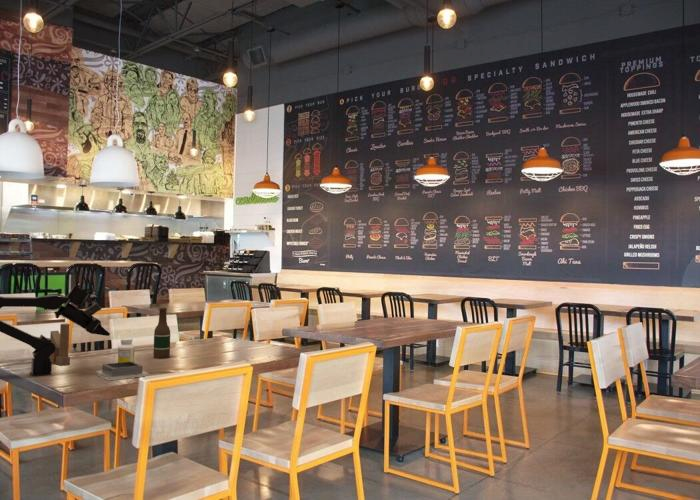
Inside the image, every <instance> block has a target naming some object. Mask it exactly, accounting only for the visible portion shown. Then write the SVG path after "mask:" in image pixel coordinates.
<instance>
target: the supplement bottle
mask: <svg viewBox="0 0 700 500" xmlns="http://www.w3.org/2000/svg"><path fill="white" fill-rule="evenodd" d="M132 343H133V338H129V337H127V338H121V339H120V344H119V346H118V347H117V363H120V362H134V363H135V351H136V350H135V348H136V347H135V345H134V344H132Z"/></svg>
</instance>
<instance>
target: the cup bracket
mask: <svg viewBox="0 0 700 500" xmlns="http://www.w3.org/2000/svg"><path fill="white" fill-rule="evenodd" d="M101 367H102V370H95V375H97V376H98V377H101V378H102V379H105V380H106V381H108V382H109V381H110V380H112V381H118V380H117V379H121V380H127V379H126V378H131V379H136V378H135V377H140V378H142V377H141V376H147V375H149V376H150V373H148V372H147V371H144V370H143V367H144V366H143V365H141V364H139V363H137V362H135V361H134V362H120V363H118V362H112V363H102V365H101ZM110 382H111V381H110Z"/></svg>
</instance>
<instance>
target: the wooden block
mask: <svg viewBox="0 0 700 500" xmlns="http://www.w3.org/2000/svg"><path fill="white" fill-rule="evenodd" d="M59 327H60V328H59V330H60V331H59V330H51V331H50V336H49V338H50V339H51V340H52V342H53V343H54V345H55V347H56V348H55V352H54V353H53V354H52V355H50V357H49V358H50V361H51V362H52V364H53V365H54V364H55V365H56V366H57V365H58V366H69V365H71V356H69V350H70V348H69V347H70V345H69V343H70V323H60V326H59Z"/></svg>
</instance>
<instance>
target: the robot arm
mask: <svg viewBox="0 0 700 500" xmlns="http://www.w3.org/2000/svg"><path fill="white" fill-rule="evenodd" d="M89 295H90V293H89V292H88V291H86V290H85V289H82V288H79V287H78V286H76V285H73V287H72V288H71V290H70V292H69V293H68V294H67V295H62V296H58V295H56V294H48V295H43V296H35V297H34V296H33V297H30V296H29V297H25V296H24V297H23V296H20V297H19V296H0V309H2V308H4V307H5V308H8V307H10V308H12V307H13V308H15V307H18V308H19V307H20V308H21V307H22V308H23V307H25V308H29V307H30V308H35V307H36V308H40V309H45V310H46V309H47V310H52V311H53V310H56V311H54V312H53V313H54V315H55V319H59V318H60V316H62V317H63V318H65V319H67V320H69V321H71V322H72V323H74V324H75V325H77V326H79V327H81V328H82V329H84V330H85V331H86V332H87V333H89V334H91V335H98V336H99V335H100V336H105V337H109V336H110V335H111V333H110V332H109V331H108V330H107V329H105V328H104V327H103V326H102V323H101V321H102V320H101V319H98V318H96V317H95V316H93V315H95V314H96V313H98V312H99V311H101V310H102V307H101V306H100V305H99V303H98V302H93V303H92V302H89V303H87V304H86V308H85V309H80V308H79V307H78V306H80V305H81V306H82V305H83V303H84V302H85V300H86V299H87V297H88V296H89ZM73 304H74V305H73ZM57 309H58V310H57ZM0 333H2V334H4V335H7V336H9V337H10V338H12V339H16V340H17V341H18V342H19V341H20V342H21V343H22V342H23V343H24V344H26V345H28V346H30V347H31V348H33V349H34V350H33V352H32V353H31V354H32V356H33V358H31V370H30V372H29V374H30V375H31V376H33V377H34V376H35V377H36V376H47V375H52V368H53V367H52V362H51V361H50V355H52V354H53V353H54V352H55V348H56V347H55V345H54V343H53V342H52V340H51V339H50V337H49V338H48V337H46V336H45V335H43V334H40V336H35V335H32V334H31V333H28V332H26V331H24V330H22V329H19V328H18V327H15V326H13V325H11V324H8V323H7V322H4V321H2V320H1V319H0Z"/></svg>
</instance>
